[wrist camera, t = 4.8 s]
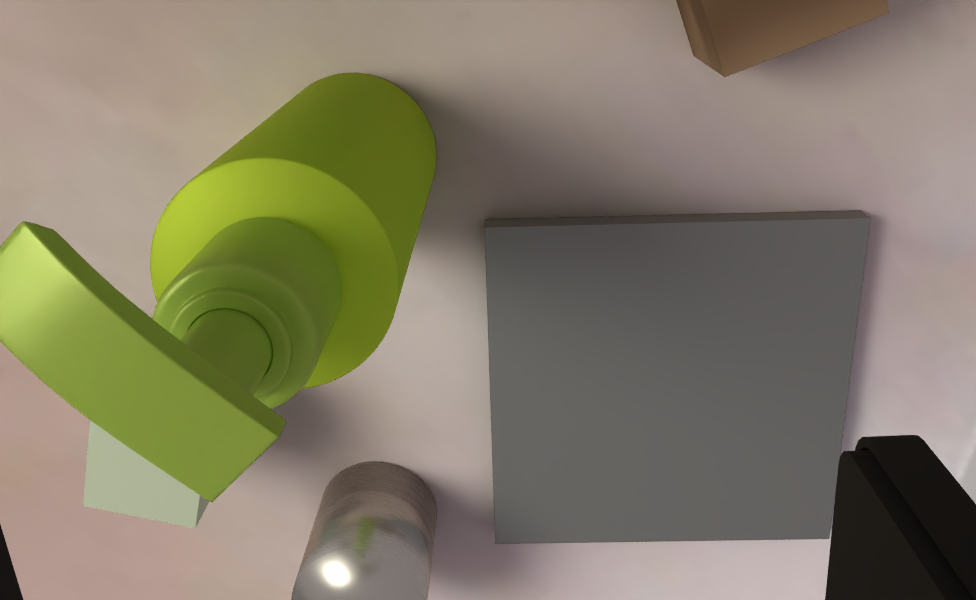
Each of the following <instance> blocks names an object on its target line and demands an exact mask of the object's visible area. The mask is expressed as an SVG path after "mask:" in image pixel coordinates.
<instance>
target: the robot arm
mask: <svg viewBox="0 0 976 600" xmlns="http://www.w3.org/2000/svg"><path fill="white" fill-rule="evenodd" d="M0 600H23V597H22V594H21V591H20V588H19V584H18V581H17V578H16V574H15V571H14V568H13V565H12V561H11V558H10V555H9V551H8V548H7V545H6V542H5V538H4V535H3V532H2V529H1V525H0ZM825 600H976V504H975V503H974V501H973V500H972V499H971V498H970V497H969V495H968V494H967V493H966V492H965V490H964V489H963V488H962V487H961V486H960V484H959V483H958V482H957V481H956V479H955V478H954V477H953V476H952V474H951V473H950V472H949V471H948V470H947V468H946V467H945V466H944V465H943V463H942V462H941V461H940V460H939V459H938V457H937V456H936V455H935V454H934V452H933V451H932V450H931V449H930V448H929V446H928V445H927V444H926V443H925V441H924V440H923V439H921V438H920V437H919V436H917V435H901V436H876V437H862V438H861V439H860V440H859V441H858V443H857V445H856V448H855V451H844V452H843V453H842V454H841V456H840V459H839V465H838V475H837V485H836V495H835V505H834V515H833V526H832V536H831V546H830V556H829V567H828V577H827V587H826V597H825Z"/></svg>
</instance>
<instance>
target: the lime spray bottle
mask: <svg viewBox="0 0 976 600" xmlns="http://www.w3.org/2000/svg"><path fill="white" fill-rule="evenodd" d="M435 168H436V145H435V139H434V135H433V132H432V129H431V126H430V124H429V122H428V120H427V118H426V116H425V114H424V113H423V111H422V110H421V108H420V107H419V106H418V105H417V103H416V102H415V101H414V100H413V99H412V98H411V97H410V96H409V95H408V94H407V93H406V92H404V91H403V90H402V89H400V88H399V87H397V86H396V85H394V84H392V83H390V82H388V81H386V80H384V79H382V78H379V77H376V76H372V75H368V74H361V73H343V74H336V75H332V76H329V77H326V78H323V79H320V80H318V81H316V82H314V83H313V84H311V85H309V86H308V87H306V88H305V89H304V90H303V91H301V92H300V93H299V94H298V95H296V96H295V97H294V98H293V99H291V100H290V101H289V102H288V103H286V104H285V105H284V106H283V107H281V108H280V109H279V110H278V111H276V112H275V113H274V114H273V115H271V116H270V117H269V118H268V119H267V120H265V121H264V122H263V123H262V124H260V125H259V126H258V127H257V128H255V129H254V130H253V131H252V132H250V133H249V134H248V135H247V136H245V137H244V138H243V139H242V140H240V141H239V142H238V143H237V144H235V145H234V146H233V147H232V148H230V149H229V150H228V151H227V152H225V153H224V154H223V155H222V156H220V157H219V158H218V159H217V160H216V161H214V162H213V163H212V164H211V165H209V166H208V167H207V168H206V169H204V170H203V171H202V172H201V173H199V174H198V175H197V176H196V177H194V178H193V179H192V180H191V181H189V182H188V183H187V184H186V185H185V186H184V187H183V188H182V189H181V190H180V191H179V192H178V193H177V194H176V195H175V196H174V197H173V199H172V200H171V201H170V203H169V204H168V205H167V207H166V209H165V210H164V212H163V214H162V216H161V218H160V220H159V222H158V225H157V227H156V230H155V233H154V237H153V241H152V247H151V257H150V269H151V279H152V285H153V289H154V293H155V296H156V299H157V305H156V307H155V310H154V314H153V318H151V317H149V316H148V315H147V314H146V313H144V312H143V311H142V310H141V309H139V308H138V307H137V306H136V305H134V304H133V303H132V302H131V301H130V300H128V299H127V298H126V297H125V296H124V295H123V294H121V293H120V292H119V291H118V290H117V289H116V288H114V287H113V286H112V285H111V284H110V283H109V282H108V281H107V280H105V279H104V278H103V277H102V276H101V275H100V274H99V273H98V272H97V271H96V270H95V269H93V268H92V267H91V266H90V265H89V264H88V263H87V262H86V261H85V260H84V259H83V258H82V257H81V256H80V255H79V254H78V253H77V252H76V251H75V250H74V249H73V248H72V247H71V246H70V245H69V244H68V243H67V242H66V241H65V240H64V239H63V238H62V237H61V236H60V235H59V234H58V233H57V232H56V231H54V230H52V229H50V228H46V227H43V226H40V225H38V224H34V223H29V222H24V221H23V222H21V223H20V224H19V225H18V226H17V227H16V229H15V230H14V231H13V232H12V233H11V235H10V236H9V237H8V238H7V239H6V241H5V242H4V243H3V244H2V245H1V247H0V341H1V342H2V343H3V344H4V346H5V347H7V348H8V349H9V350H10V351H11V352H12V353H13V354H14V355H15V356H16V357H17V358H18V359H19V360H20V361H21V362H22V363H23V364H24V365H25V366H26V367H27V368H28V369H29V370H30V371H32V372H33V373H34V374H35V375H36V376H37V377H38V378H39V379H40V380H42V381H43V382H44V383H45V384H46V385H47V386H48V387H50V388H51V389H52V390H53V391H54V392H56V393H57V394H58V395H59V396H60V397H62V398H63V399H64V400H65V401H66V402H68V403H69V404H70V405H71V406H73V407H74V408H75V409H77V410H78V411H79V412H80V413H82V414H83V415H84V416H86V417H87V418H88V419H90V420H91V421H92V422H94V423H95V424H96V425H98V426H99V427H100V428H102V429H103V430H105V431H106V432H107V433H109V434H110V435H112V436H113V437H114V438H116V439H117V440H119V441H120V442H121V443H123V444H124V445H126V446H127V447H129V448H130V449H132V450H133V451H134V452H136V453H137V454H139V455H140V456H142V457H143V458H145V459H146V460H148V461H149V462H151V463H152V464H154V465H155V466H157V467H158V468H160V469H161V470H163V471H164V472H166V473H167V474H169V475H170V476H172V477H173V478H175V479H176V480H178V481H179V482H181V483H182V484H184V485H185V486H187V487H188V488H190V489H191V490H193V491H194V492H196V493H197V494H199V495H200V496H202V497H203V498H205V499H206V500H208V501H210V502H213V501H214V500H215V499H216V498H217V497H218V496H219V495H220V494H221V493H222V492H223V491H224V490H225V489H226V488H227V487H228V486H229V485H230V484H232V483H233V482H234V481H235V480H236V479H237V478H238V477H239V476H240V475H241V474H242V473H243V472H244V471H245V470H246V469H247V468H248V467H249V466H250V465H251V464H252V463H253V462H254V461H255V460H256V459H257V458H258V457H259V456H260V455H261V454H262V453H263V452H264V451H265V450H267V449H268V448H269V447H270V446H271V445H272V444H273V443H274V442H275V441H276V440H277V439H278V438H279V436H280V434H281V432H282V430H283V427H284V425H285V423H286V420H285V419H283V418H282V417H281V416H279V415H278V414H277V413H275V412H274V411H273V410H271V409H273V408H275V407H278V406H280V405H282V404H283V403H285V402H287V401H288V400H290V399H291V398H292V397H293V396H295V395H296V394H297V393H298V392H299V391H300V390H301V389H304V388H310V387H315V386H319V385H322V384H325V383H328V382H331V381H333V380H336V379H338V378H340V377H342V376H344V375H346V374H347V373H349V372H350V371H352V370H353V369H355V368H356V367H358V366H359V365H360V364H361V363H363V362H364V361H365V360H366V359H367V358H368V357H369V356H370V355H371V354H372V353H373V352H374V351H375V349H376V348H377V347H378V345H379V344H380V343H381V341H382V340H383V338H384V336H385V335H386V333H387V331H388V329H389V327H390V324H391V322H392V319H393V317H394V313H395V310H396V307H397V303H398V300H399V296H400V293H401V289H402V286H403V282H404V279H405V275H406V272H407V268H408V265H409V261H410V258H411V254H412V251H413V247H414V244H415V240H416V237H417V233H418V230H419V226H420V223H421V219H422V216H423V212H424V209H425V205H426V202H427V198H428V195H429V191H430V188H431V184H432V181H433V177H434V174H435Z"/></svg>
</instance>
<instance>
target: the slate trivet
mask: <svg viewBox="0 0 976 600" xmlns="http://www.w3.org/2000/svg"><path fill="white" fill-rule="evenodd" d="M870 219H871V218H870V217H869V216H867V215H866V214H865V213H863V212H862V211H861V210H854V211H813V212H773V213H733V214H692V215H652V216H611V217H571V218H530V219H490V220H485V254H486V283H487V313H488V342H489V372H490V402H491V431H492V461H493V490H494V520H495V544H520V543H587V542H653V541H719V540H786V539H829V536H830V529H831V521H832V513H833V505H834V498H835V490H836V482H837V474H838V465H839V459H840V451H841V443H842V436H843V428H844V420H845V413H846V405H847V397H848V389H849V382H850V374H851V366H852V358H853V351H854V343H855V335H856V327H857V320H858V312H859V304H860V296H861V289H862V281H863V273H864V266H865V258H866V250H867V242H868V235H869V227H870Z"/></svg>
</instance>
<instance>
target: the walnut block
mask: <svg viewBox="0 0 976 600" xmlns="http://www.w3.org/2000/svg"><path fill="white" fill-rule="evenodd" d="M676 1H677V4H678V7H679V11H680V14H681V17H682V20H683V23H684V27H685V30H686V33H687V36H688V39H689V42H690V46H691V49H692V52H693V55H694V56H695V57H696V58H698V59H699V60H701V61H702V62H703V63H705V64H706V65H708V66H709V67H711V68H712V69H714V70H715V71H717V72H718V73H720V74H721V75H722V76H724V77H726V76H729V75H731V74H734V73H737V72H739V71H742V70H744V69H747V68H749V67H752V66H754V65H757V64H760V63H762V62H765V61H767V60H770V59H772V58H775V57H777V56H780V55H782V54H785V53H788V52H790V51H793V50H795V49H798V48H800V47H803V46H805V45H808V44H811V43H813V42H816V41H818V40H821V39H823V38H826V37H828V36H831V35H833V34H836V33H839V32H841V31H844V30H846V29H849V28H851V27H854V26H856V25H859V24H862V23H864V22H867V21H869V20H872V19H874V18H877V17H879V16H882V15H884V14H887V13H889V9H888V4H887V0H676Z"/></svg>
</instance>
